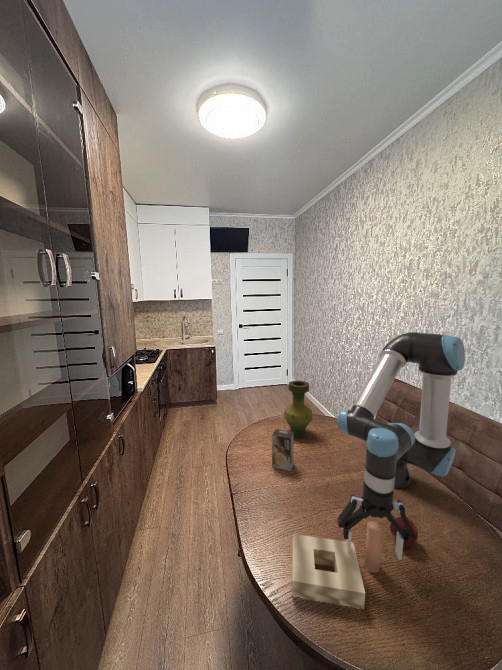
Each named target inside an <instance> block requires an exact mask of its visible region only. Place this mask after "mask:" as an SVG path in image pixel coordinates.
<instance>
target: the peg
mask: <svg viewBox="0 0 502 670" xmlns="http://www.w3.org/2000/svg"><path fill="white" fill-rule="evenodd" d="M383 530H384V528H383V526H382V525H381V524H380V523H379V522H377V521H372V520H370V521H368V522H367V524H366V534H365V535H366V536H365V537H366V538H365V551H364V563H365V564H364V567H365V566H366V567H365V569H366V568H367V569H368V570H369V572H370V571H371V572H374V573H373V574H377V573H376V572H378V571H379V572H380V566H381V553H382V542H383V541H382V540H383ZM367 569H366V570H367ZM368 570H367V571H368ZM371 572H370V573H371ZM379 572H378V573H379Z"/></svg>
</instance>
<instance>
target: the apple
mask: <svg viewBox="0 0 502 670" xmlns="http://www.w3.org/2000/svg"><path fill="white" fill-rule="evenodd" d="M395 518H396V520H397V521H398V522H399V523H400V524H401V526H402V527H403V528H404V529H407V528H406V526H405V524H404V522H403V519H402V517H401V516H399V517H395ZM407 519H408V521H409V524H410V526H411V528H412V530H413V532H414V534H415V538H411V537H408V538H409V541H408V542H407V544H406V548H407V547H412V546H414V544H416V542H417V540H418V538H419V531H418V529H417V526H416V525H415V524H414V522H413V521H412V520H411V519H409V518H407ZM389 530H390V532H391V534H392V535H393V537H394V539H396V537H397V529H396V528H395V527H394V526H393V525H392V523H391V522H390V525H389Z"/></svg>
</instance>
